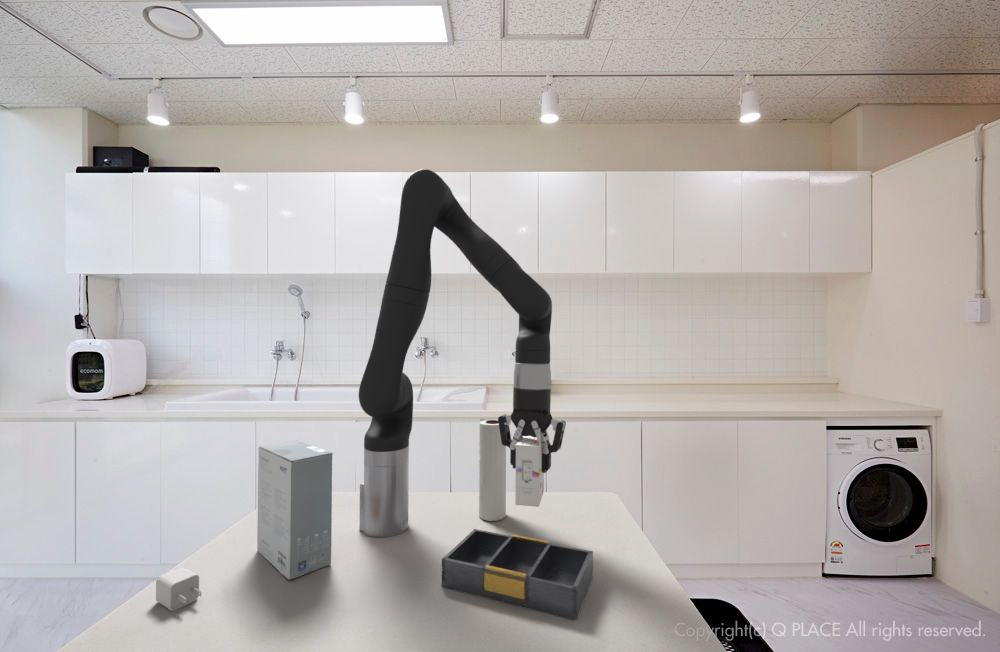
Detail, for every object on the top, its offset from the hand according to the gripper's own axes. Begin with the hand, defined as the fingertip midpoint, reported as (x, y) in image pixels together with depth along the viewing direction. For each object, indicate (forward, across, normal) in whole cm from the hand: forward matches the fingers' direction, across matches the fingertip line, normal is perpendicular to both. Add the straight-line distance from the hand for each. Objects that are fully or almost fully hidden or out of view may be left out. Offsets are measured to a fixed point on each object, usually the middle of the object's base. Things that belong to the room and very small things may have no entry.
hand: (530, 469), depth 90 cm
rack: (+14, +4, -15) cm, 21 cm away
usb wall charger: (+15, -42, -41) cm, 61 cm away
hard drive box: (+15, -38, -24) cm, 47 cm away
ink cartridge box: (+6, 0, 0) cm, 6 cm away
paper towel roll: (+14, -12, +8) cm, 20 cm away
